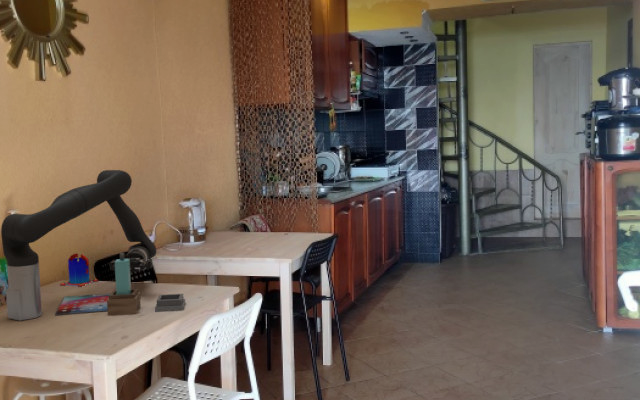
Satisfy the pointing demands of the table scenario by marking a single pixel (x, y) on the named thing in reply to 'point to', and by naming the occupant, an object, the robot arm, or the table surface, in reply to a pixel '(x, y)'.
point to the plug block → (122, 276)
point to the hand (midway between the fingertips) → (128, 268)
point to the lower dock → (170, 302)
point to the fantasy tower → (78, 271)
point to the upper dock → (123, 303)
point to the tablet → (83, 304)
